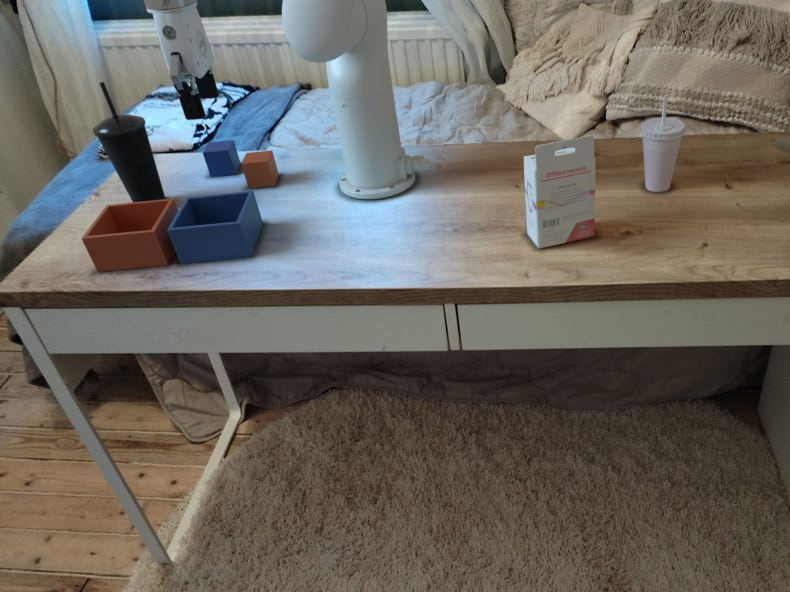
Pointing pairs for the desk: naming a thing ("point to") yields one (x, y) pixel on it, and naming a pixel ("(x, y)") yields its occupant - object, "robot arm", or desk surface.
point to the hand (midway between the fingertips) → (203, 108)
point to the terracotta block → (260, 169)
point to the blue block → (221, 158)
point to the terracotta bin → (131, 235)
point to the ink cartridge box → (560, 191)
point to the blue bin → (216, 227)
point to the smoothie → (661, 149)
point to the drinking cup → (130, 153)
